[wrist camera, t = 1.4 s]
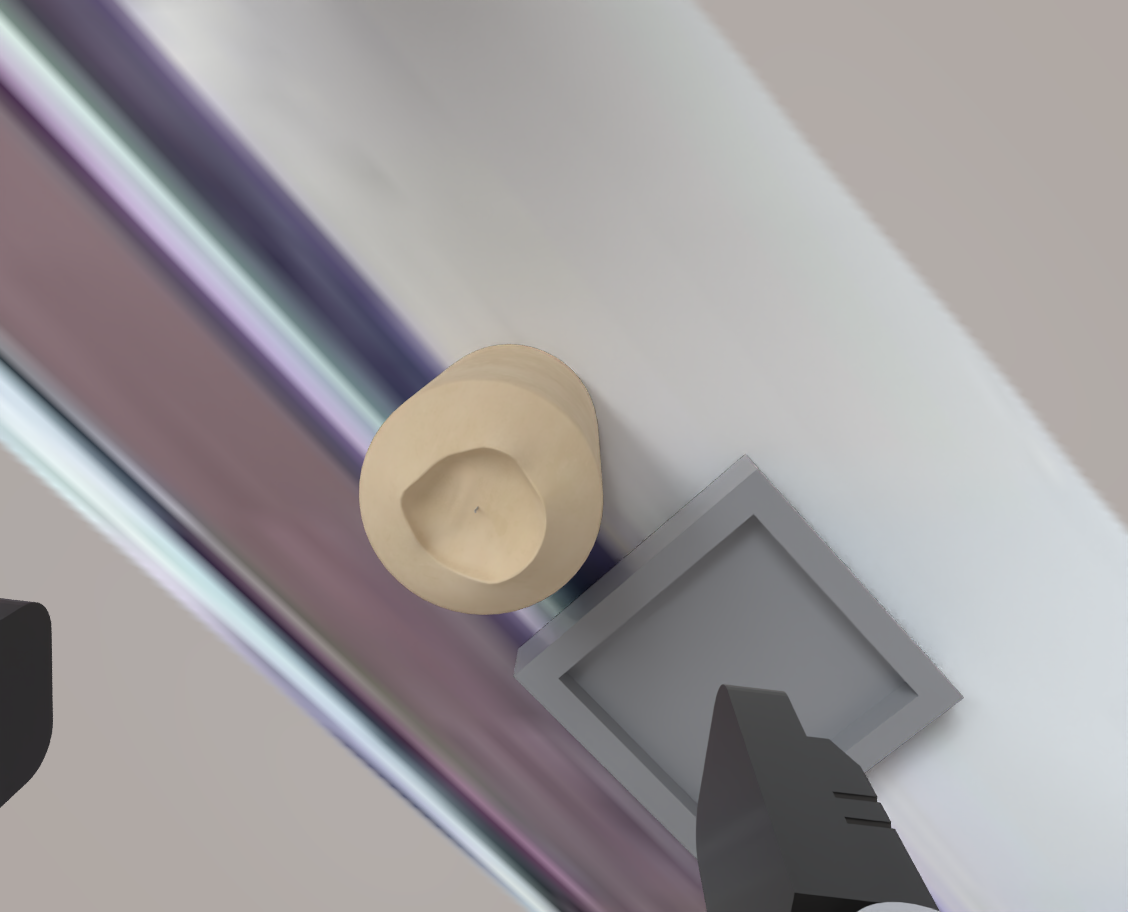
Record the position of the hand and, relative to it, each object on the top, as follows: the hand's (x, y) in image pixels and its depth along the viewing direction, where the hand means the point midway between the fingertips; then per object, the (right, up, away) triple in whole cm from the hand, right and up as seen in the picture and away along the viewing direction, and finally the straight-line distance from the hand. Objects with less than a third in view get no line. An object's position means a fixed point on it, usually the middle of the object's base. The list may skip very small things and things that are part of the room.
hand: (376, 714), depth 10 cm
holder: (+8, -4, +19) cm, 21 cm away
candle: (+1, +4, +18) cm, 18 cm away
